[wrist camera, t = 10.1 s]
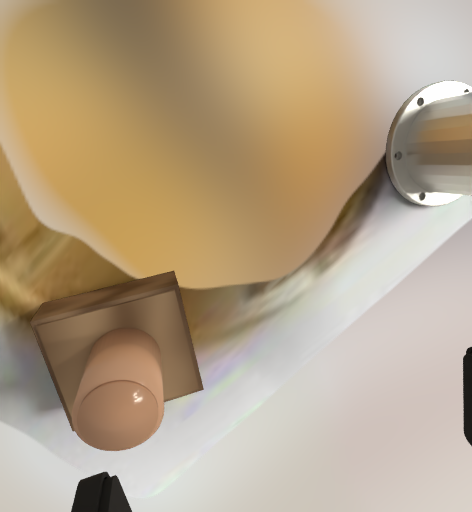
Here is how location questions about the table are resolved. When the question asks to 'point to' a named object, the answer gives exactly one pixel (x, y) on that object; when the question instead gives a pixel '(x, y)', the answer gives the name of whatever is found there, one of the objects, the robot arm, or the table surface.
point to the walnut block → (111, 318)
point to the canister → (120, 391)
